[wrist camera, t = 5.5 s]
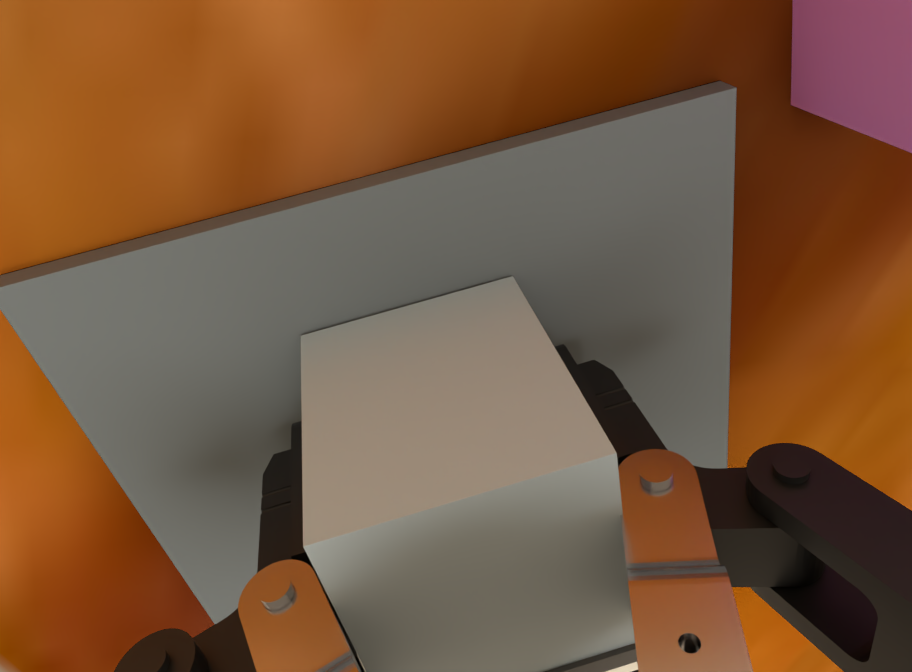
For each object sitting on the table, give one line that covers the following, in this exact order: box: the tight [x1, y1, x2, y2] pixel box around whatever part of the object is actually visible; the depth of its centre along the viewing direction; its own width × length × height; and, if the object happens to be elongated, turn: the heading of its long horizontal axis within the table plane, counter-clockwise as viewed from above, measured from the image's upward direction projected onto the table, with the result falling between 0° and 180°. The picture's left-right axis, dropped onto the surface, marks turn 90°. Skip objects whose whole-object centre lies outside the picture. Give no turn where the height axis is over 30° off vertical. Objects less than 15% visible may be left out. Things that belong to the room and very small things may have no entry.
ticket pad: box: [0, 81, 736, 672], centre depth 18 cm, size 14×21×3 cm, turn 12°
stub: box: [301, 276, 637, 672], centre depth 13 cm, size 4×5×6 cm
